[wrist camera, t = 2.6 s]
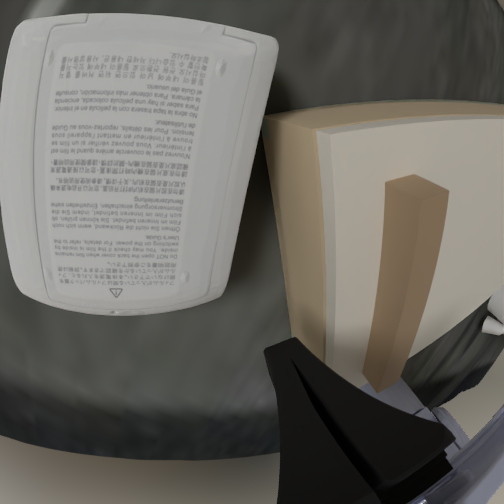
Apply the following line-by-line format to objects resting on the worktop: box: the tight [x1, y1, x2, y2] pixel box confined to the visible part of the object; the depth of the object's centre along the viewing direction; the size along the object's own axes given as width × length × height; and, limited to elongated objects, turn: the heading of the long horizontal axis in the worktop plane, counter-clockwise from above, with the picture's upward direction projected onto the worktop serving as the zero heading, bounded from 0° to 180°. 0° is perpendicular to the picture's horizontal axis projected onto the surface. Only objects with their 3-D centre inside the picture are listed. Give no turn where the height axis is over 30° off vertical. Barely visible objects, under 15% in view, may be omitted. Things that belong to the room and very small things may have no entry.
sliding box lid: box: [316, 115, 504, 394], centre depth 14 cm, size 16×26×3 cm, turn 101°
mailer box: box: [261, 99, 504, 364], centre depth 18 cm, size 16×26×5 cm, turn 101°
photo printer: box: [0, 13, 279, 315], centre depth 10 cm, size 10×4×12 cm
